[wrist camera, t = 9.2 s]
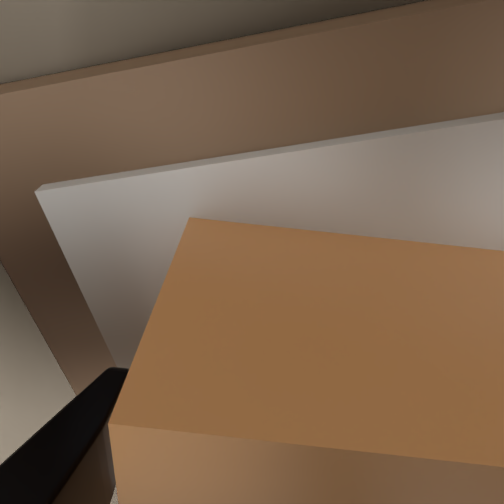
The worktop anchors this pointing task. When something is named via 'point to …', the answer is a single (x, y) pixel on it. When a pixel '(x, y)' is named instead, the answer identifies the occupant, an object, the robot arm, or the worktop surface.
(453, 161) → the post board
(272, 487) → the orange tan square block
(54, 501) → the robot arm
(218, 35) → the worktop surface
